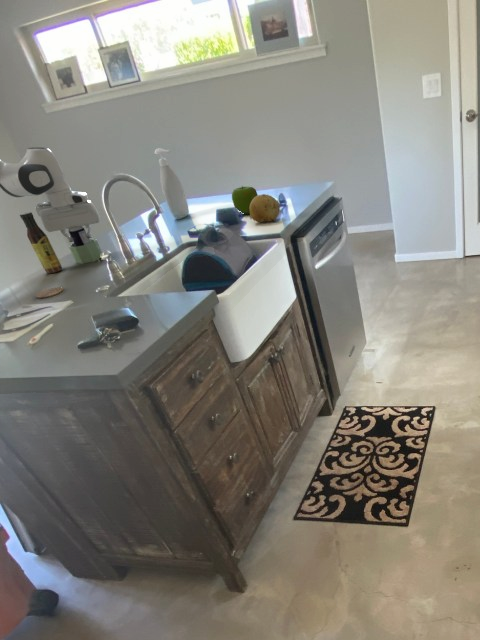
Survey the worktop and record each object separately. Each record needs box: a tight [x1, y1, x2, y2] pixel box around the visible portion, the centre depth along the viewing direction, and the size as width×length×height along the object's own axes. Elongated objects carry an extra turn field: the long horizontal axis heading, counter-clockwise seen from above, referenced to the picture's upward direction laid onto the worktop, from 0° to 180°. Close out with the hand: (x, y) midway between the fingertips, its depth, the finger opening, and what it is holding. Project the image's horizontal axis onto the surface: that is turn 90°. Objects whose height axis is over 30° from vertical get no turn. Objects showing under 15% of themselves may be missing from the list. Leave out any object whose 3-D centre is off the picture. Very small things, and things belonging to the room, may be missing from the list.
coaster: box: [35, 286, 65, 299], centre depth 177 cm, size 9×9×1 cm
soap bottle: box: [154, 147, 190, 220], centre depth 234 cm, size 14×8×27 cm, turn 169°
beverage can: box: [68, 226, 91, 247], centre depth 201 cm, size 6×6×12 cm
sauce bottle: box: [19, 211, 63, 275], centre depth 191 cm, size 6×6×20 cm
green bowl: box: [68, 238, 103, 265], centre depth 203 cm, size 10×10×6 cm
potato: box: [249, 193, 281, 223], centre depth 212 cm, size 10×12×10 cm
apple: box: [231, 185, 259, 216], centre depth 228 cm, size 11×11×11 cm
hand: (81, 239), depth 200 cm, fingers closed on beverage can, 5 cm apart
